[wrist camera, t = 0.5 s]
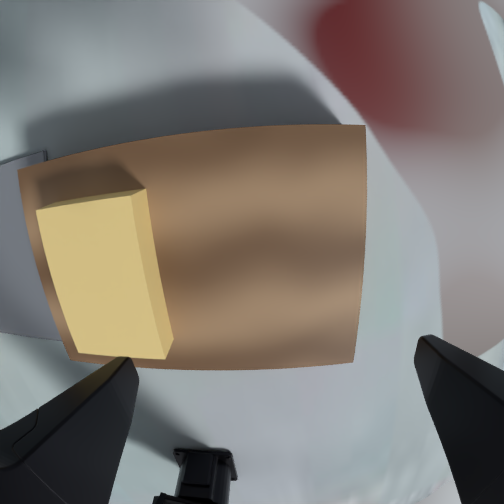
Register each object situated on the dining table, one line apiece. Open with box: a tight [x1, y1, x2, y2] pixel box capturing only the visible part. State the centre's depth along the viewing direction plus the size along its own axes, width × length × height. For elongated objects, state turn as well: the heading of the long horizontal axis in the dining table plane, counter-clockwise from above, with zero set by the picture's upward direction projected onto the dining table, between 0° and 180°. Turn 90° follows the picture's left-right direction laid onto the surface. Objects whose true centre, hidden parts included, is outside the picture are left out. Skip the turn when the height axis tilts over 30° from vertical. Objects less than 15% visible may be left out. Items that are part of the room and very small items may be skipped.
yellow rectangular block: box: [36, 189, 174, 359], centre depth 16 cm, size 9×6×2 cm, turn 4°
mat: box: [0, 151, 62, 341], centre depth 21 cm, size 16×13×1 cm
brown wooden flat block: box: [17, 124, 367, 370], centre depth 18 cm, size 14×20×4 cm
